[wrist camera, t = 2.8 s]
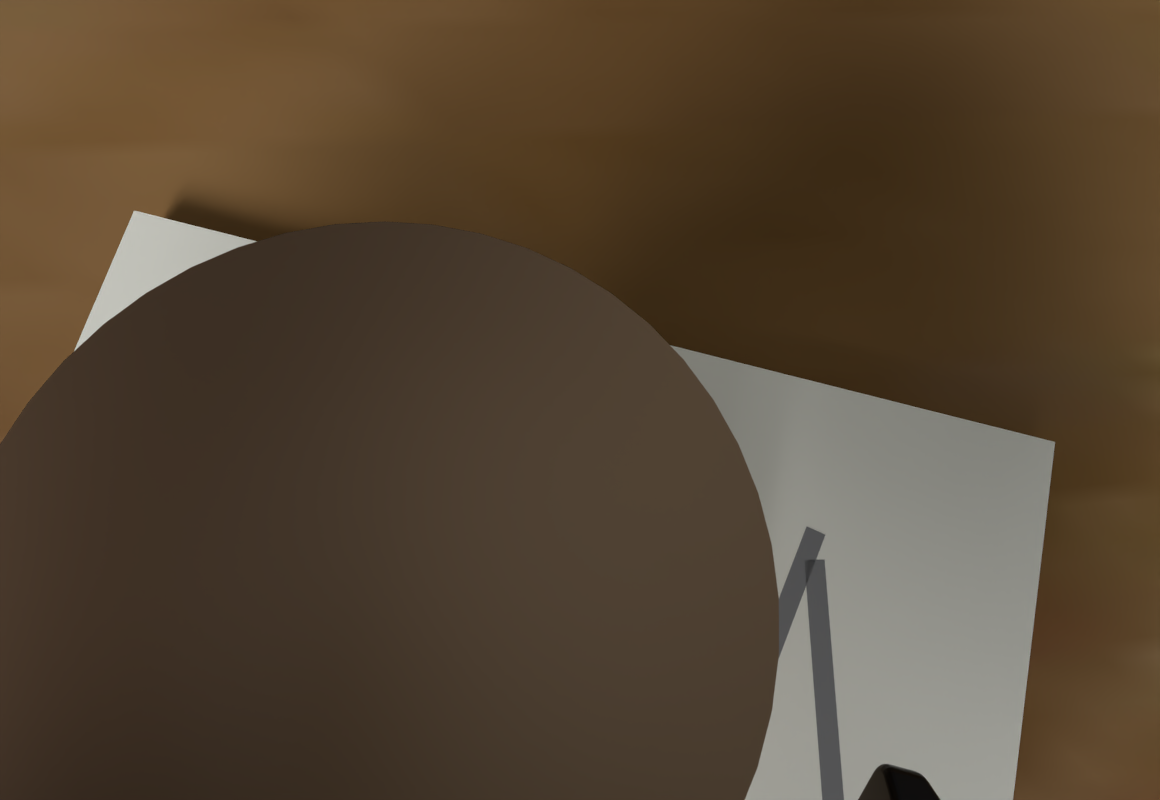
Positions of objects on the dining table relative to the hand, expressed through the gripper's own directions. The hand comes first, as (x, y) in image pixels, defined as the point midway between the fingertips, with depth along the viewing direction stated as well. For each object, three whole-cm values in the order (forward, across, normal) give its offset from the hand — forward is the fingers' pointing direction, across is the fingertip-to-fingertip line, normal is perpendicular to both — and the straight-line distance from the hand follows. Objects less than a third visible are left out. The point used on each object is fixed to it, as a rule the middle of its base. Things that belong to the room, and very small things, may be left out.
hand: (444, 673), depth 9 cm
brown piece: (+6, 0, +5) cm, 8 cm away
